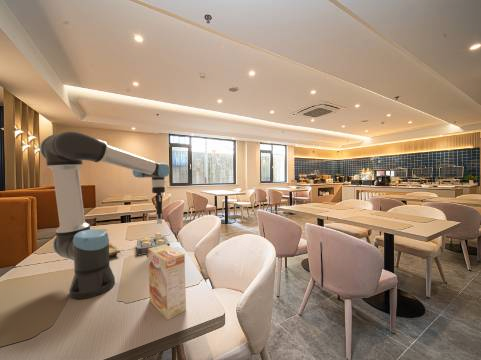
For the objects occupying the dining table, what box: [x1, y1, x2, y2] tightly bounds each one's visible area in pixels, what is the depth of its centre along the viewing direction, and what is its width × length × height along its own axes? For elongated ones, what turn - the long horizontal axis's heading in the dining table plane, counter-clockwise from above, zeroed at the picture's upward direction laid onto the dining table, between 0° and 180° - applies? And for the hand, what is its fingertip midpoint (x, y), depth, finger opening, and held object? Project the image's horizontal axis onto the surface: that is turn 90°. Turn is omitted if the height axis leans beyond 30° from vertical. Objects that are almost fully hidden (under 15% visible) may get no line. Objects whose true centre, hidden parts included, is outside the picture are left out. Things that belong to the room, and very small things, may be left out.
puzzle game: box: [109, 242, 121, 258], centre depth 120 cm, size 12×5×20 cm
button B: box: [142, 242, 151, 247], centre depth 125 cm, size 5×5×4 cm
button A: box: [156, 239, 164, 245], centre depth 129 cm, size 5×5×4 cm
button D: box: [140, 237, 151, 243], centre depth 132 cm, size 5×5×4 cm
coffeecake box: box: [147, 244, 187, 321], centre depth 71 cm, size 15×7×20 cm, turn 45°
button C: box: [154, 232, 164, 241], centre depth 136 cm, size 5×5×4 cm
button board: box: [136, 235, 171, 256], centre depth 131 cm, size 18×18×4 cm
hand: (159, 223), depth 129 cm, fingers closed
